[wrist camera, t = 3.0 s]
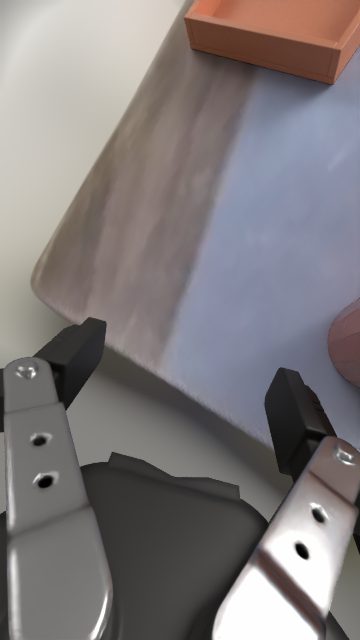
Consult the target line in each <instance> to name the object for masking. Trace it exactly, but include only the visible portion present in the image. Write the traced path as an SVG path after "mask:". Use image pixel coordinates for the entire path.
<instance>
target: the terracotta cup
mask: <svg viewBox="0 0 360 640" xmlns="http://www.w3.org/2000/svg"><path fill="white" fill-rule="evenodd" d="M328 350H329V355H330V357H331V360H332V362H333V364H334V366H335V367H336V369H337V370H338V372H339V373H340V374H341V375H342V376H343V377H344V378H345V379H346V380H347V381H349V382H350V383H351V384H353V385H354V386H356V387H358V388H360V297H359V298H358V299H357V300H355V301H354V302H353V303H351V304H350V305H349V306H347V307H346V308H344V309H343V310H342V311H341V313H340V314H339V315H338V316H337V317H336V318H335V320H334V322H333V323H332V325H331V328H330V331H329V335H328Z"/></svg>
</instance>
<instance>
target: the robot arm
mask: <svg viewBox="0 0 360 640" xmlns="http://www.w3.org/2000/svg"><path fill="white" fill-rule="evenodd" d="M106 325H107V324H106V321H102V320H99V319H95V318H91V317H89V318H88V319H87V320H85V321H84V322H83V323H82V324H81V325H80V326H79V325H72V326H70V327H67V328H65V329H63V330H62V331H61V332H60V333H59V334H58V335H57V336H55V337H54V338H53V339H52V341H50V342H49V343H47V344H46V345H45V346H44V347H43V348H42V349H41V350H39V351H38V352H37V353H36V354H35V355H34V356H33V357H26V358H20V359H17V360H14V361H12V362H10V363H9V364H8V365H7V366H6V367H5V368H4V369H0V432H4V443H5V478H6V479H5V480H6V511H4V512H3V513H1V514H0V640H349V638H348V637H347V635H346V634H345V633H344V631H343V629H342V628H341V627H340V625H339V624H338V622H337V621H336V619H335V618H334V616H333V615H332V613H331V612H330V611H329V607H330V604H331V601H332V598H333V594H334V591H335V588H336V585H337V581H338V578H339V575H340V572H341V568H342V565H343V562H344V559H345V556H346V552H347V549H348V546H349V543H350V539H351V536H352V534H353V537H354V540H355V542H356V545H357V548H358V551H359V554H360V453H359V452H358V451H357V450H356V449H355V448H354V447H353V446H352V445H351V444H349V443H348V442H346V441H344V440H342V439H340V438H338V437H337V435H336V433H335V431H334V429H333V427H332V425H331V423H330V421H329V419H328V417H327V415H326V413H324V409H323V407H322V405H320V404H321V403H320V401H319V399H318V397H317V395H316V394H315V393H314V392H313V391H312V390H311V389H310V387H309V386H308V385H304V382H303V380H302V378H301V376H300V374H299V372H297V371H294V370H290V369H286V368H282V367H280V368H279V369H278V371H277V372H276V375H275V377H274V379H273V381H272V383H271V385H270V387H269V389H268V391H267V393H266V396H265V403H264V405H265V411H266V415H267V419H268V424H269V428H270V433H271V437H272V441H273V446H274V450H275V454H276V459H277V463H278V467H279V471H280V473H282V474H286V475H290V476H292V478H293V482H294V484H293V485H292V487H291V488H290V490H289V491H288V493H287V495H286V496H285V498H284V499H283V501H282V503H281V504H280V506H279V507H278V509H277V510H276V512H275V514H274V515H273V517H272V518H271V520H270V521H269V523H268V522H267V520H266V519H265V518H264V517H263V516H262V515H261V514H260V513H259V512H258V511H257V510H256V509H255V508H253V507H252V506H251V505H250V504H248V503H247V502H245V501H244V500H242V499H240V494H239V486H237V485H233V484H230V483H226V482H222V481H219V480H215V479H211V478H206V477H205V478H204V477H203V478H202V477H174V476H171V475H169V474H167V473H166V472H164V471H162V470H160V469H158V468H156V467H155V466H153V465H151V464H149V463H147V462H146V461H144V460H141V459H137V458H133V457H129V456H126V455H122V454H118V453H115V452H112V453H111V456H110V458H109V461H108V462H99V463H92V464H88V465H84V466H81V467H79V463H78V459H77V455H76V451H75V447H74V443H73V439H72V435H71V431H70V427H69V423H68V419H67V415H66V410H67V408H68V407H69V406H70V404H71V403H72V402H73V400H74V399H75V397H76V396H77V394H78V393H79V391H80V390H81V388H82V387H83V386H84V384H85V383H86V381H87V380H88V378H89V377H90V376H91V374H92V373H93V371H94V370H95V368H96V367H97V365H98V364H99V362H100V360H101V358H102V355H103V350H104V342H105V334H106Z"/></svg>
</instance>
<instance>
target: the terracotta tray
mask: <svg viewBox="0 0 360 640" xmlns="http://www.w3.org/2000/svg"><path fill="white" fill-rule="evenodd" d="M184 20H185V24H186V28H187V33H188V37H189V41H190V46H191V48H192V49H196V50H200V51H204V52H207V53H211V54H215V55H219V56H223V57H227V58H231V59H235V60H239V61H242V62H246V63H250V64H254V65H258V66H262V67H266V68H270V69H274V70H277V71H281V72H285V73H289V74H293V75H297V76H301V77H305V78H309V79H312V80H316V81H320V82H324V83H328V84H332V85H333V84H334V82H335V81H336V79H337V78H338V76H339V75H340V73H341V72H342V70H343V69H344V68H345V66H346V65H347V63H348V62H349V60H350V59H351V57H352V56H353V54H354V53H355V51H356V50H357V48H358V47H359V45H360V0H195V1H194V2H193V4H192V6H191V7H190V9H189V10H188V12H187V13H186V15H185V16H184Z"/></svg>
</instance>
